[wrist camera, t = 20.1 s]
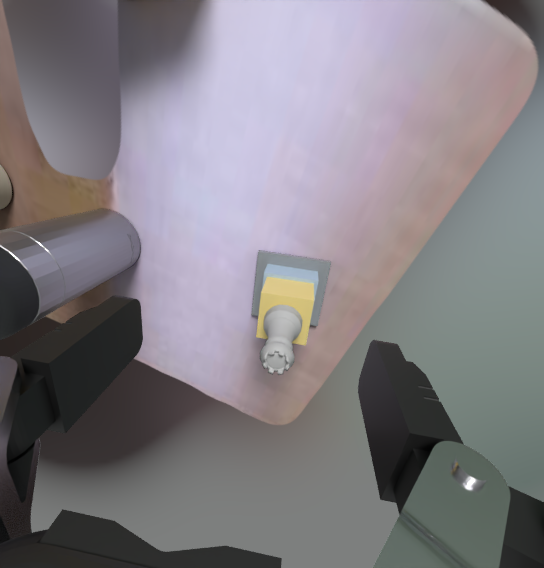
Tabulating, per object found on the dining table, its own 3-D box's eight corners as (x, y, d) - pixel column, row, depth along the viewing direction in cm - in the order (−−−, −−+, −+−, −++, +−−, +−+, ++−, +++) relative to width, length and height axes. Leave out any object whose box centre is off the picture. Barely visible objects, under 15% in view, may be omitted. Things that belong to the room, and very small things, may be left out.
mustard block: (262, 316, 39) (256, 337, 35) (267, 276, 37) (261, 292, 32) (306, 323, 39) (305, 345, 34) (313, 283, 36) (314, 300, 32)
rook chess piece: (287, 342, 34) (281, 391, 27) (256, 322, 34) (242, 365, 26) (310, 317, 33) (310, 361, 25) (279, 295, 32) (269, 334, 25)
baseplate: (252, 312, 44) (246, 327, 40) (259, 250, 40) (253, 259, 36) (317, 323, 43) (317, 339, 39) (330, 261, 39) (332, 271, 36)
